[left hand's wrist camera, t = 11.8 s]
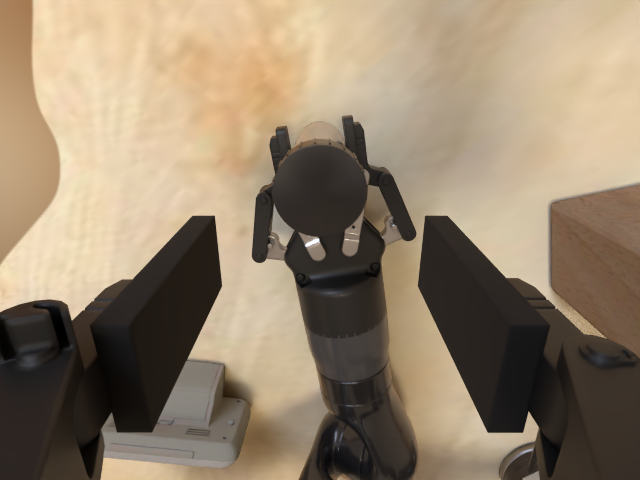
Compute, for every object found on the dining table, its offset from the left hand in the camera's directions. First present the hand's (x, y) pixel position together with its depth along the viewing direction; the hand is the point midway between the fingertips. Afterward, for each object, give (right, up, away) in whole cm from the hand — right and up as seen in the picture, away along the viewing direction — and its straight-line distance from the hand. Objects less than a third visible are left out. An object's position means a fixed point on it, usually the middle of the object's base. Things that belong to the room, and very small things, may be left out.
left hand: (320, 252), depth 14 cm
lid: (0, +3, +8) cm, 8 cm away
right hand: (0, +9, +16) cm, 18 cm away
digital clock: (-16, -17, +33) cm, 41 cm away
